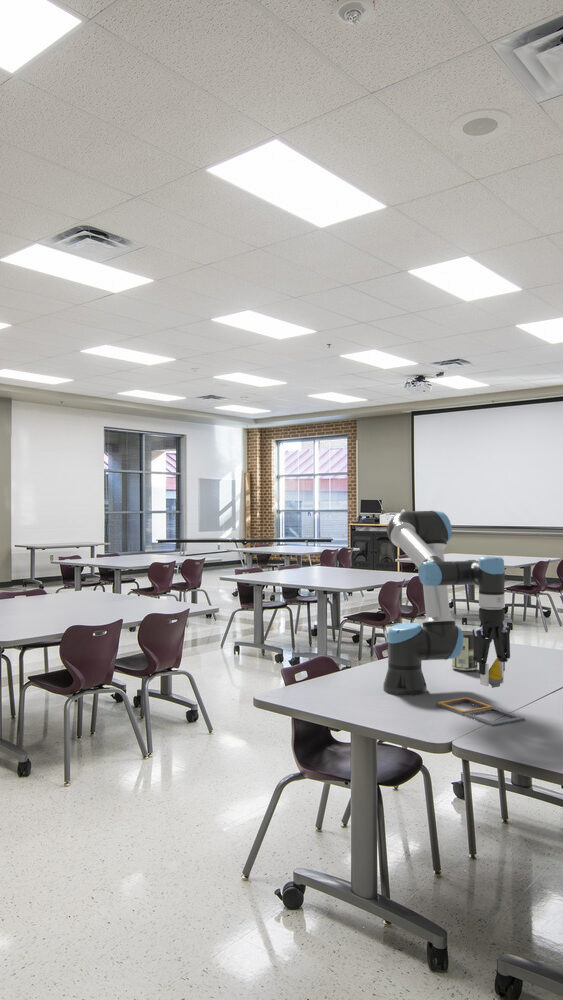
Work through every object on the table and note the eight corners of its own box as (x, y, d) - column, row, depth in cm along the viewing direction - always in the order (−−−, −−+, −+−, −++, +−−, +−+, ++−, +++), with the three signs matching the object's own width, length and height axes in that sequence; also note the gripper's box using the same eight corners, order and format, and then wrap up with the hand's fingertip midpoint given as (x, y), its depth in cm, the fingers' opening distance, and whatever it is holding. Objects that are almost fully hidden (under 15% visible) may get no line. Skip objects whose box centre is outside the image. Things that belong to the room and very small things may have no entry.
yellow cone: (486, 682, 210) (492, 652, 208) (503, 688, 207) (509, 658, 205) (479, 687, 206) (485, 656, 204) (496, 693, 203) (502, 662, 201)
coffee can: (474, 664, 278) (473, 630, 278) (480, 670, 268) (480, 634, 268) (448, 664, 278) (448, 630, 278) (454, 670, 268) (454, 634, 268)
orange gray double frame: (436, 706, 219) (436, 702, 219) (466, 700, 225) (466, 696, 225) (492, 727, 197) (492, 723, 197) (524, 721, 203) (524, 717, 203)
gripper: (477, 611, 199) (477, 690, 199) (523, 607, 207) (523, 682, 207) (459, 608, 206) (460, 684, 205) (504, 603, 214) (505, 677, 214)
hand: (492, 683), depth 206 cm, fingers closed on yellow cone, 5 cm apart
